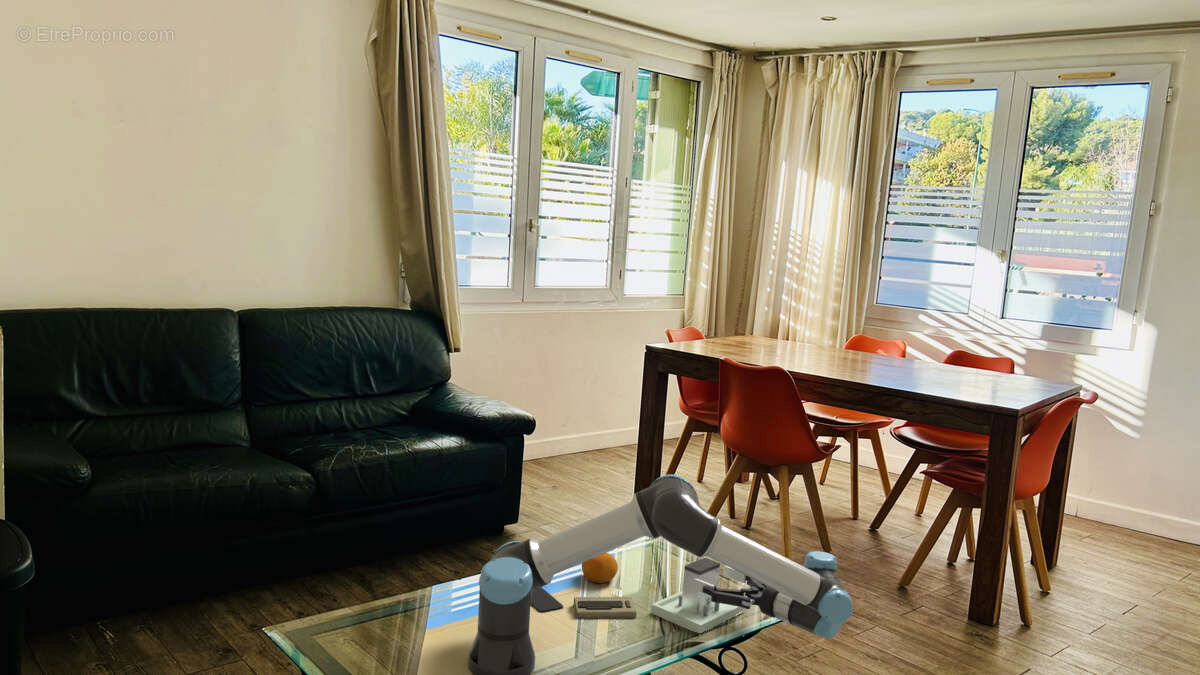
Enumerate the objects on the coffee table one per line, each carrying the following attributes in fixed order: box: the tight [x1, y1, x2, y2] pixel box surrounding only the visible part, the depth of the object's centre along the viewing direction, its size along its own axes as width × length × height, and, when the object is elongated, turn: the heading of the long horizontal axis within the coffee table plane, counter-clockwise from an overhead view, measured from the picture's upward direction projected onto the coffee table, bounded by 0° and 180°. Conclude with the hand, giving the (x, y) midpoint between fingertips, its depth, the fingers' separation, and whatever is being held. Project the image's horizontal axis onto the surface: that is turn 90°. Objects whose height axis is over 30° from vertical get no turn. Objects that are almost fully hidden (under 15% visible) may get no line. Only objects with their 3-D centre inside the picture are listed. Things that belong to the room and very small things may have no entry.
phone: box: [530, 587, 564, 614], centre depth 237 cm, size 7×1×15 cm
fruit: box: [581, 552, 619, 584], centre depth 253 cm, size 10×10×8 cm
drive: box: [681, 557, 721, 616], centre depth 234 cm, size 9×5×12 cm, turn 137°
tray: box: [650, 590, 746, 634], centre depth 235 cm, size 20×16×4 cm
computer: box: [573, 596, 637, 619], centre depth 232 cm, size 16×8×3 cm, turn 98°
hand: (710, 576), depth 233 cm, fingers open, 13 cm apart
